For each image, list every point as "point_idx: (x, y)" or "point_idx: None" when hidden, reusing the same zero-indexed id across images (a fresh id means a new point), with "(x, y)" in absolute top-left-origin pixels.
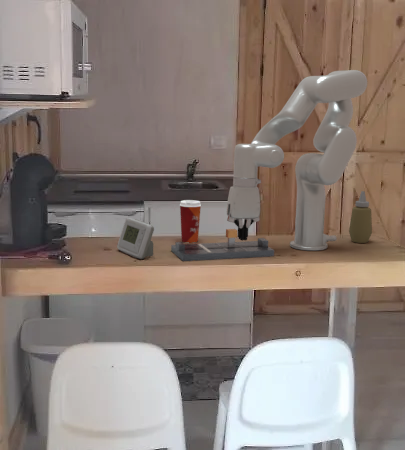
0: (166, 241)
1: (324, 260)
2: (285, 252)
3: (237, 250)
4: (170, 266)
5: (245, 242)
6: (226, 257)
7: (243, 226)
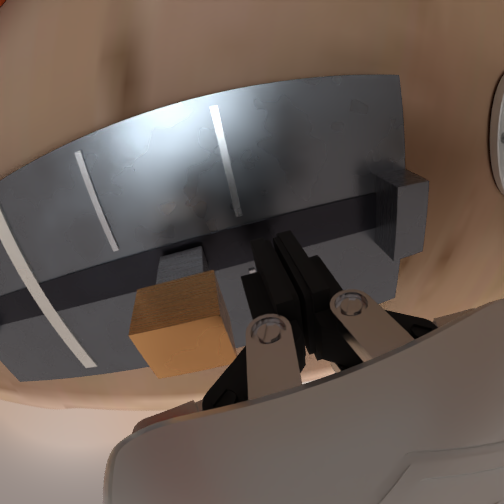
0: None
1: (469, 304)
2: (445, 212)
3: None
4: (27, 398)
5: (312, 111)
6: None
7: (317, 326)
